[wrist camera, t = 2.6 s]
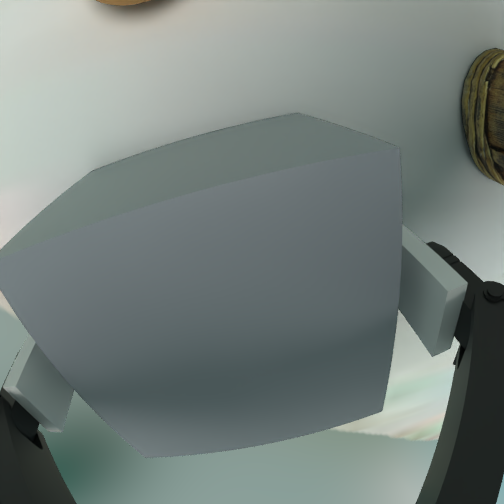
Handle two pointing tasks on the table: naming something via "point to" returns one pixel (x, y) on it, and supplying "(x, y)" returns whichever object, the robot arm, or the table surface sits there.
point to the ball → (122, 2)
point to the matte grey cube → (221, 285)
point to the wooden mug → (486, 113)
